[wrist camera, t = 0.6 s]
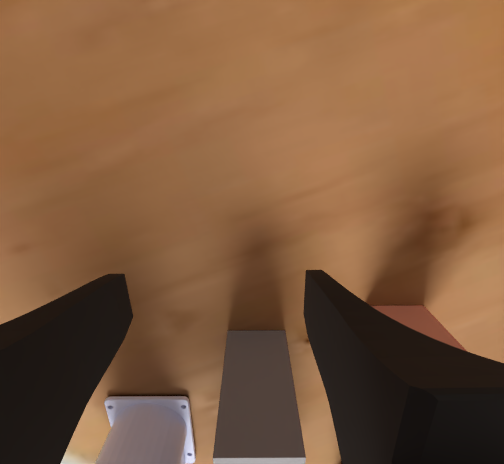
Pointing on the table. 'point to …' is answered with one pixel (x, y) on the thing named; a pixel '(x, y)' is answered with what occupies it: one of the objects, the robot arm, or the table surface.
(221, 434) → the domino
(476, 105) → the table surface
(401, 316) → the red domino
